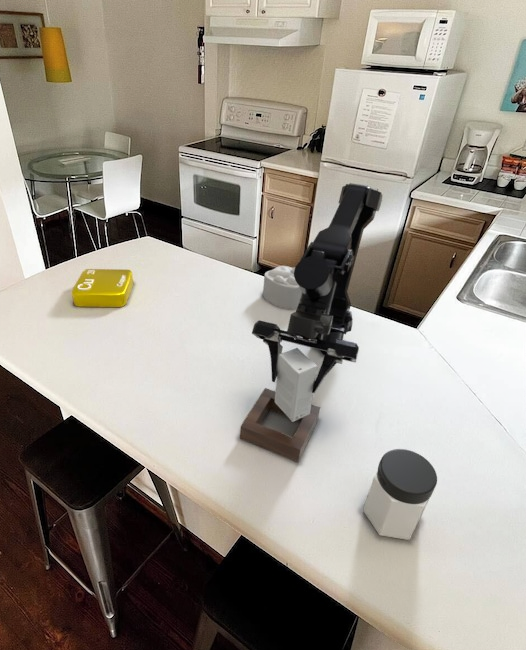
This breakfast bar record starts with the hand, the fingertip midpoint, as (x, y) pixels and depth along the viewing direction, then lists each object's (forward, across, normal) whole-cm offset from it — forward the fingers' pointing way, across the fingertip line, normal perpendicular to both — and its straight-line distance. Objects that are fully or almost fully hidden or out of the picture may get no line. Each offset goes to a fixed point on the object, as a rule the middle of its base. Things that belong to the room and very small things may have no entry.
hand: (292, 387), depth 79 cm
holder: (+8, -2, +10) cm, 13 cm away
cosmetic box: (+4, 0, +6) cm, 7 cm away
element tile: (-12, -65, +32) cm, 73 cm away
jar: (+16, +21, +3) cm, 26 cm away
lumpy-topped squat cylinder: (-25, -14, +45) cm, 53 cm away
